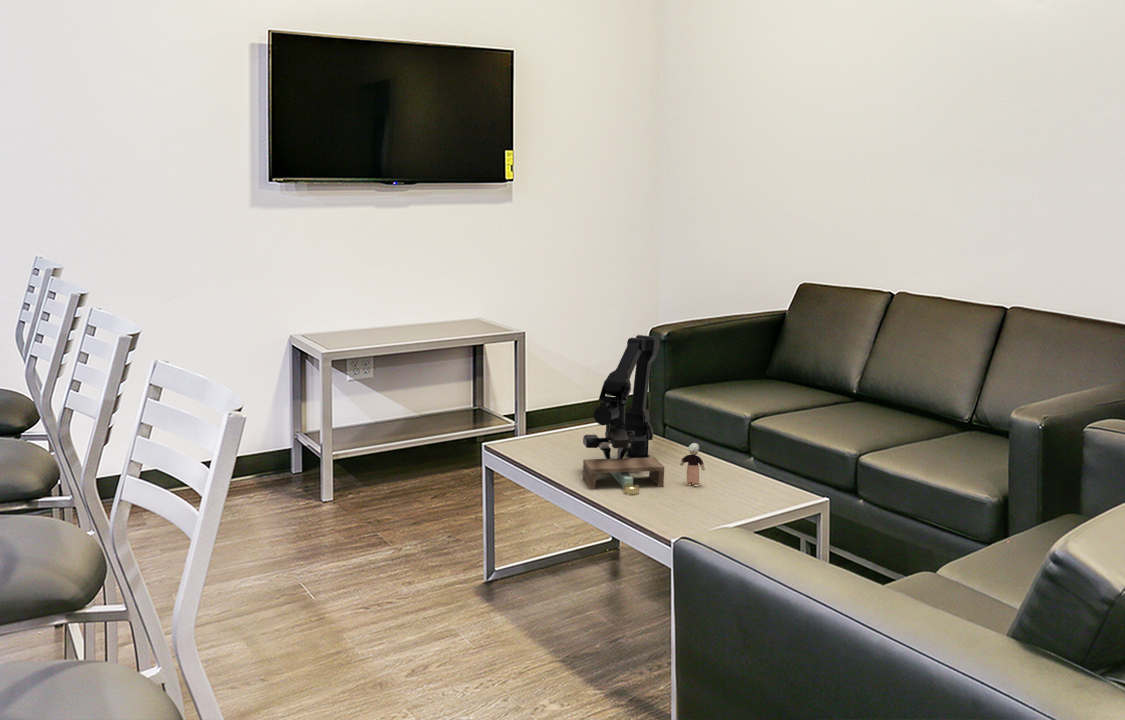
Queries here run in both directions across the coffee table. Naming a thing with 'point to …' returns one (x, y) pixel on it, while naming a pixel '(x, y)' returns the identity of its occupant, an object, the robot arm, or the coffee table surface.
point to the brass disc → (631, 489)
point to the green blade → (622, 477)
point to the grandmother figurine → (693, 464)
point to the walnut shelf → (622, 468)
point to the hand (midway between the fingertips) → (613, 467)
